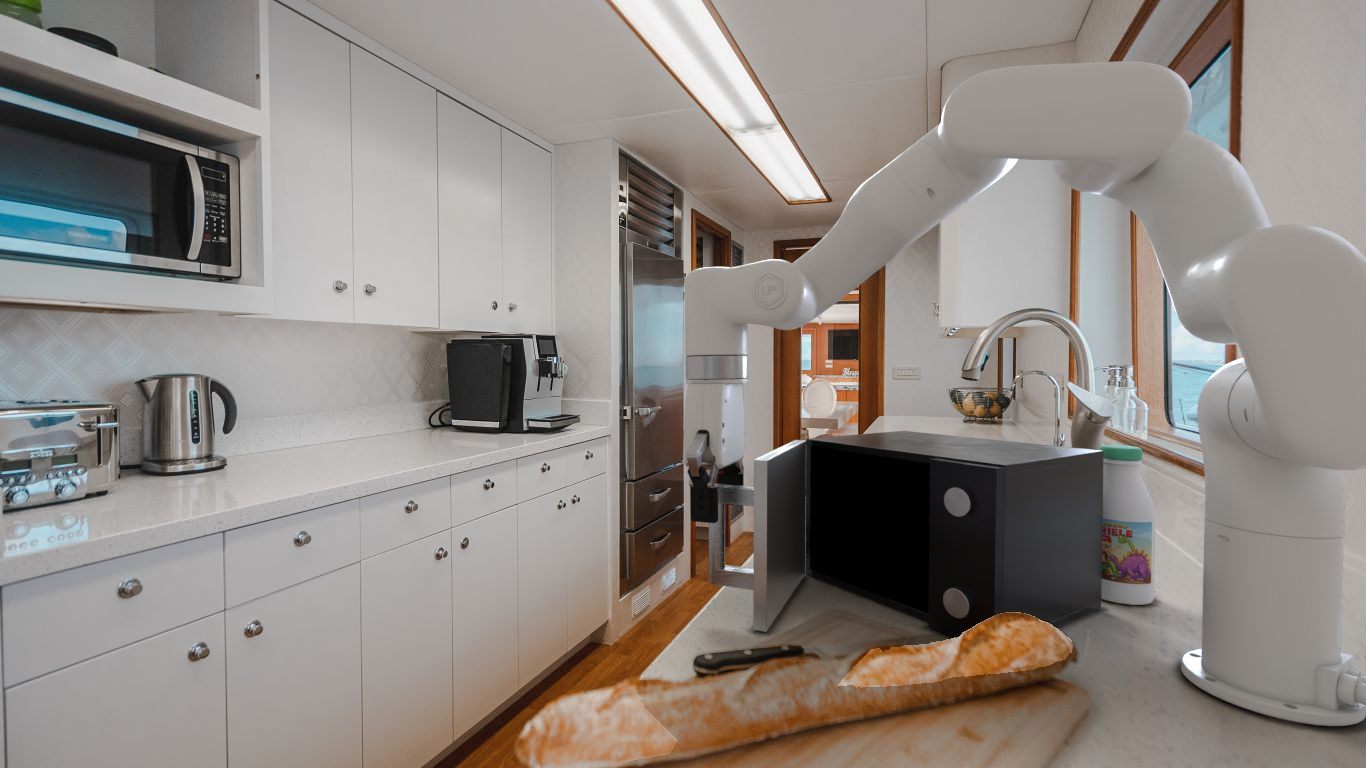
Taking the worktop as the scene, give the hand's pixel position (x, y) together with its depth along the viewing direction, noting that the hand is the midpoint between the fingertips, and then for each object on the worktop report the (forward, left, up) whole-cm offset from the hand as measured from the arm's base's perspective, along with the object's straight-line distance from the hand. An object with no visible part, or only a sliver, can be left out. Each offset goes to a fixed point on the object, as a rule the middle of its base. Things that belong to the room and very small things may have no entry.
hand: (718, 512), depth 76 cm
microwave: (-9, -30, -13) cm, 34 cm away
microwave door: (+3, -8, -13) cm, 15 cm away
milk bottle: (-23, -49, -13) cm, 56 cm away
